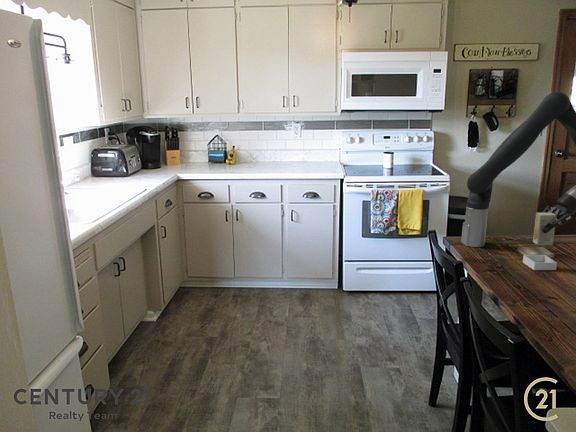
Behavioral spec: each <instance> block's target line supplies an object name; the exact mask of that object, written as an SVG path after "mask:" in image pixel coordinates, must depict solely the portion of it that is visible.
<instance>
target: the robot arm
mask: <svg viewBox="0 0 576 432" xmlns="http://www.w3.org/2000/svg"><path fill="white" fill-rule="evenodd" d="M555 120H557V121H558V122H559V123H560V124H561V126H563V128H564V129H565V130H566V132H567V134H568V135H569V137H570V138H571V140H572V142H573V143H574V145H575V146H576V109H575V108H574V106H573V104H572V102H571V100H570V97H569V96H568V95H567V94H566V93H564V92H561V91H560V92H559V91H554V92H550V93H549V94H547V95H546V96H545V97H544V98H543V99H542V101H541V102H540V103H539V105H537V107H536V108H535V110H534V111H533V112H532V113H531V114H530V116H528V117H527V119H526V120H525V121H523V122H522V123H521V124H519V126H517V127H516V128H515V129H514V130H513V131H512V132H511V133H510V134H509V135H508V136H507V137H506V138H505V139H504V140H503V141H502V142H501V144H500V145H499V146H498V147H497V148H496V149H495V151H494V152H493V153H492V154H491V156H490V157H489V158H488V160H487V161H486V162H484V163H483V165H481V166H480V167H479V168H478V169H477V170H475V171H474V172H473V173H472V174H470V176H469V177H468V178H467V182H466V186H467V189H468V191H469V194H468V197H467V200H466V207H465V216H464V218H465V219H464V221H463V222H462V230H461V239H460V242H461V243H462V244H463V245H464V246H465V247H472V248H481V247H484V246H485V243H486V233H487V224H488V217H489V207H490V203H491V199H492V198H491V197H492V192H493V191H492V190H493V184H494V183H493V182H494V180H495V179H496V178H497V177H498V176H499V175H500V174H501V173H502V172H503V171H504V170H506V169H507V168H509V167H510V166H511V165H513V164H514V163H515V162H516V161H517V160H518V159H520V158H521V157H522V156H523V155H524V154H525V153H526V152H527V150H529V148H530V147H532V145H533V144H534V143H535V142H536V140H537V139H538V137H539V135H541V133H542V132H543V131H544V130H545V128H547V127H548V126H549V125H550V124H551V123H552V122H554V121H555ZM541 213H554V215H555V216H554V217H553V219H552V220H551V222H550V224H549V223H548V224H547V225H546V226H545V227H544V228H543V229H542V231H543V233H545V234H546V233H547V232H549V231H550V230H551V229H552V228H555V229H556V228H557V229H559V228H561V227H563V226H564V225H566V224H567V223H569V222H571V221H572V219H573V218H572V216H571V215H574V214H575V213H576V184H574V186H572V187H571V188H570V189H568V190H567V191H566V192H565V193H564V194H563V195H562V196H560V197H559V198H558V199H557V200H556V205H554V206H550V205H547V206H546V207H545V208H544V209H543V211H541ZM554 221H555V222H554ZM533 227H535V224H534V225H533Z"/></svg>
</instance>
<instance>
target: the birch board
mask: <svg viewBox="0 0 576 432" xmlns="http://www.w3.org/2000/svg"><path fill="white" fill-rule="evenodd" d="M517 252H518V253H520V254H522V256H523V255H546V256H547V257H549V258H550V259H554V258H555V253H553V252H552V251H550V250H548V249H547V248H545V247H543V246H533V247H531V246H529V247H528V246H527V247H526V246H525V247H521V246H519V247H517Z"/></svg>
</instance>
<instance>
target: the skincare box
mask: <svg viewBox="0 0 576 432" xmlns="http://www.w3.org/2000/svg"><path fill="white" fill-rule="evenodd" d="M554 216H555V215H554V213H542V212H536V213H535V218H534V219H535V221H534V225H535V227H534V226H533V227H534V228H533V235H532V236H533V237H532V242H533V243H534V244H535V245H536V246H537V245H538V246H553V245H554V239H555V232H556V231H555V230H556V227H555V228H552V229H551V230H550V231H549V232H547V233H546V234H545V233H543V231H542V229H543V228H544V227H545V226H546V225H547V224H548V223H549V224H550V222H551V220H552V219H553V217H554ZM554 222H555V221H554Z"/></svg>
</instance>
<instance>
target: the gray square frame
mask: <svg viewBox="0 0 576 432" xmlns="http://www.w3.org/2000/svg"><path fill="white" fill-rule="evenodd" d="M522 263H523V264H524V265H526V266H527V267H529V268H530V269H532V270H533V271H556V270H557V267H558V262H557V261H555V260H553V258H549V257H547V256H546V255H523V254H522Z"/></svg>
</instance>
